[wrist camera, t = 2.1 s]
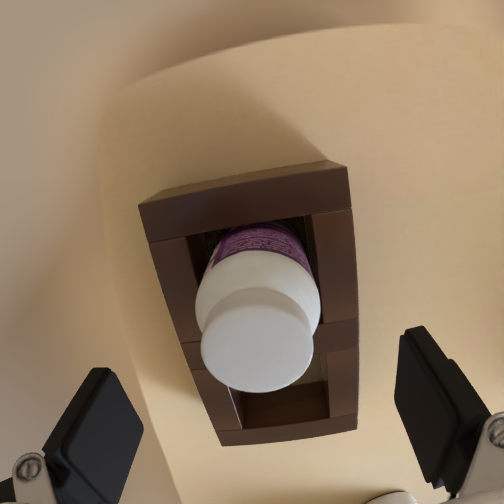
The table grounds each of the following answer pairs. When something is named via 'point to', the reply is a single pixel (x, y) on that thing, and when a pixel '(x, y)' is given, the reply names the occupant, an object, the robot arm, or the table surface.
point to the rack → (323, 270)
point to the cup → (395, 499)
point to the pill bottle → (258, 308)
